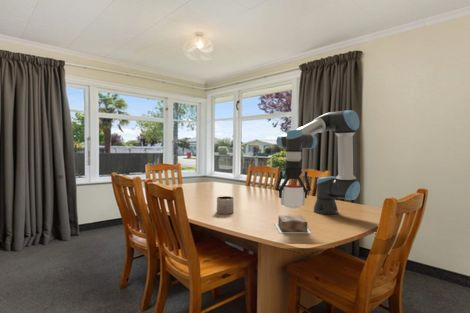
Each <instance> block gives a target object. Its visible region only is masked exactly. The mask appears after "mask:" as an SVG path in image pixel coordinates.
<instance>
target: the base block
mask: <svg viewBox="0 0 470 313" xmlns="http://www.w3.org/2000/svg"><path fill="white" fill-rule="evenodd" d="M277 217H278V218H277V219H278V220H277V224H278V225H279V227H280V229H281V230H282V232H307V228H308V221H307V220H306V219H305V218H304V217H303V215H278V216H277Z"/></svg>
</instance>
